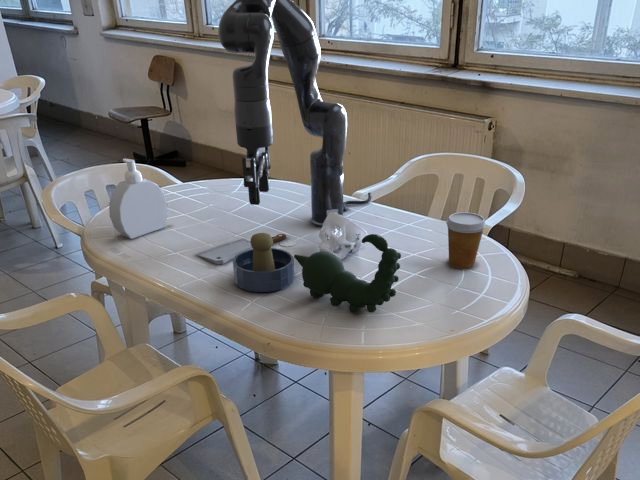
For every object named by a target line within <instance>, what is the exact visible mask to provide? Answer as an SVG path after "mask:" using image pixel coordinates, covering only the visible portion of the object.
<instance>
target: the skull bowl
mask: <svg viewBox="0 0 640 480" xmlns="http://www.w3.org/2000/svg"><path fill="white" fill-rule="evenodd" d="M367 235H369V233H368V232H367V231H366V230H365V229H364V228H363V227H361V226H360V225H358V224H357V223H355V222H354V221H353V220H351V219H350V218H348V217H346V216H344V215H343V216H342V215H339V214H336V213H333V212H330V213H329V214H328V216H327V217H326V219H325V221H324V223H323V226H322V227H321V229H320V231H319V234H318V237H319V238H320V239H321V242H320V243H319V244H318V245H317V248H318V252H320V251H327V252H330V253H333V254H334V255H336V256H337V257H338V258H339V259H340V260H341V261H342V260H344V259H345V258H346V257H347V256H348V254H349V252H352V254H355V253H357V252H358V251H360V250H361V249H362V247H363V246H364V245H365V244H366V242H365V243H362V239H363V238H364V237H365V236H367ZM338 249H339V251H338ZM334 251H338V252H334Z"/></svg>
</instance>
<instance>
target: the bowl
mask: <svg viewBox="0 0 640 480" xmlns="http://www.w3.org/2000/svg"><path fill="white" fill-rule="evenodd" d="M271 250H272V255H273V260H274V265H275V270H271V271H252V265H253V249H251V250H247V251H244V252H241V253H239V254H238V255H236V256H235V257H234V258H233V259H232V267H233V278H234V284H235V285H236V286H237V287H238V288H241V289H243V290H245V291H249V292H255V293H270V292H271V293H272V292H276V291H279V290H283V289H284V288H287V287H288V286H290V285H291V284H292V283H294V280H295V278H296V275H295V273H296V271H295V258H294V255H293V254H292V253H291V252H290V251H287V250H284V249H282V248H276V247H271Z"/></svg>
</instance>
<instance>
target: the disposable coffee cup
mask: <svg viewBox="0 0 640 480" xmlns="http://www.w3.org/2000/svg"><path fill="white" fill-rule="evenodd" d="M445 223H446V226H447V235H448V236H447V241H448V264H449V265H450V266H451V267H453V268H456V269H462V270H467V269H471V268H473V267H474V266H475V263H476V259H477V256H478V251H479V247H480V244H481V240H482V236H483V232H484V230H485V228H486V226H487V223H486V218H485V217H484V216H483V215H481V214H478V213H475V212H468V211H467V212H466V211H460V212H454V213H452V214H450V215H449V216H448V219H447V220H446V222H445Z"/></svg>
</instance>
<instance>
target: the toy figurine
mask: <svg viewBox="0 0 640 480" xmlns="http://www.w3.org/2000/svg"><path fill="white" fill-rule="evenodd" d="M362 243H365V244H366V243H369V244H371V245H372V246H374V247H375V249H377V250H378V251H380V252H382V253H381V259H380V261H379V262H378V265H377V269H378V270H377V271H376V272H375V273H374V279H372V280H371V281H370V282H367V281H366V280H364V279H361V278H359V279H358V277H357V276H356V275H355V274H354V273H353V272H351V271H349V270H346V269H345V266H344V262H343V261H342V260H340V259H339V258H338V257H337V256H336V255H334V254H333V253H334V252H333V253H330V252H327V251H316V252H313V253H311V254H310V255H308V256H307V255H301V254H294V255H293V258H294V260H296V262H297V263H298V264H299V266H300V267H301V277H302V285H303V287H304V288H307V289H308V290H309V295H310V297H312V298H313V299H316V300H318V299H322V298H323V297H324V296H325V295H330V296H331V297H330V299H329V302H330V305H331V306H332V307H334V308H335V307H336V308H338V307H339V306H340V305H341V304H342V303H345V302H346V303H347V304H348V311H349V312H350V313H352V314H354V313H355V314H356V313H357V312H358V309H361V308H365V307H366V312H368V313H369V314H370V313H371V314H372V313H374V312H375V311H376V310H377V306H382V305H383V304H384V303H388V302H390V301H391V298H393V297H396V294H397V291H396V289H394V288H392V286H393V284H394V283H398V282H399V279H400V277H399V276H398V275H397V274H396V272H397V271H398V270H400V268H401V264H400V263H399V262H398V261H399V260H400V259H401V258H402V253H401V252H398V251H397V250H396V249H395V248H392V247H389V244H388V242H387V239H386V238H384V237H383V236H382V235H380V234H376V233H370V234H368V235H367V236H365V237H364V238H363V239H362Z"/></svg>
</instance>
